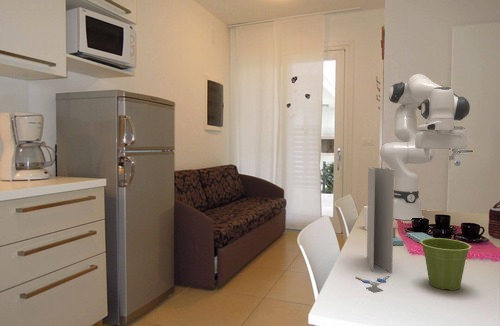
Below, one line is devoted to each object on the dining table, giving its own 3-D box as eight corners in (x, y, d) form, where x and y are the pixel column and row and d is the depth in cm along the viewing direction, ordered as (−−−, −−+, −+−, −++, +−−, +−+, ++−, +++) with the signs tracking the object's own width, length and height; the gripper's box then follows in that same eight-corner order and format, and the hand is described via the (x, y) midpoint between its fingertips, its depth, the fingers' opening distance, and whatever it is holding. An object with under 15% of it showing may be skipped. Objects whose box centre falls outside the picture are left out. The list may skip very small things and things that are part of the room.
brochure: (392, 273, 106) (394, 169, 105) (372, 271, 107) (374, 169, 106) (384, 258, 120) (386, 167, 119) (366, 257, 121) (368, 166, 120)
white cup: (384, 231, 158) (385, 208, 157) (366, 231, 158) (366, 208, 157) (378, 227, 165) (379, 205, 165) (361, 227, 166) (361, 205, 165)
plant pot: (425, 274, 105) (426, 235, 104) (473, 284, 97) (474, 242, 97) (413, 286, 96) (414, 244, 95) (465, 298, 88) (466, 252, 88)
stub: (374, 235, 150) (374, 222, 149) (388, 235, 150) (388, 222, 149) (387, 245, 136) (387, 230, 135) (403, 245, 136) (403, 230, 135)
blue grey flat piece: (381, 295, 91) (381, 292, 91) (348, 289, 95) (348, 286, 95) (389, 277, 103) (389, 274, 103) (360, 273, 107) (360, 270, 107)
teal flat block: (406, 236, 150) (406, 232, 150) (423, 236, 150) (423, 232, 150) (422, 245, 136) (422, 241, 136) (441, 245, 136) (441, 241, 136)
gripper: (462, 126, 153) (461, 159, 154) (413, 126, 153) (412, 159, 154) (471, 126, 147) (470, 160, 148) (420, 125, 147) (420, 160, 147)
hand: (440, 160), depth 151 cm, fingers open, 8 cm apart
